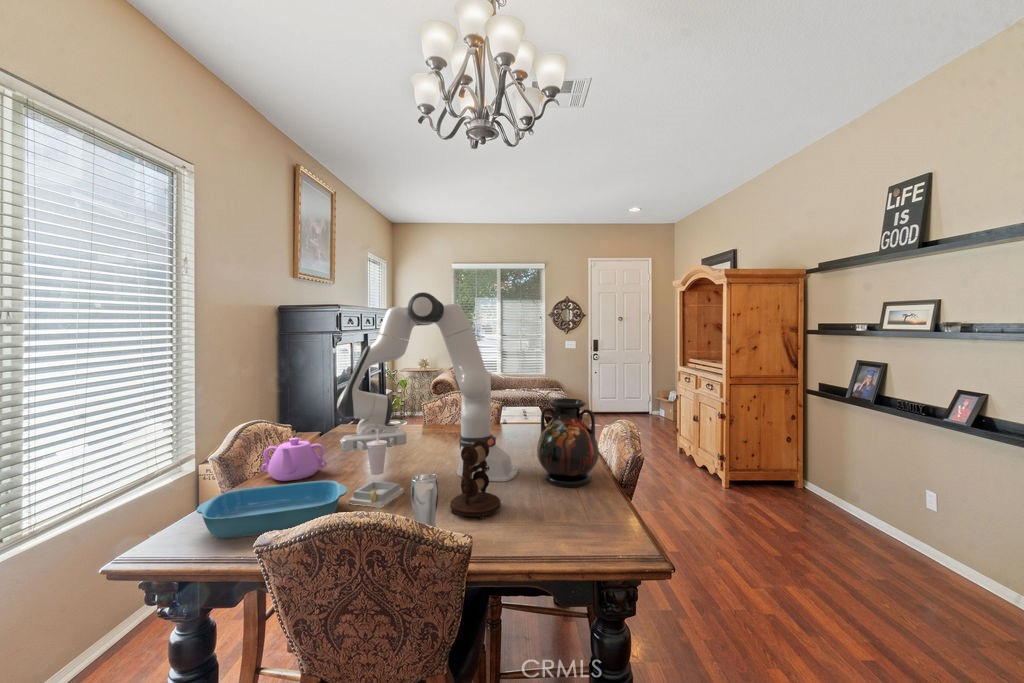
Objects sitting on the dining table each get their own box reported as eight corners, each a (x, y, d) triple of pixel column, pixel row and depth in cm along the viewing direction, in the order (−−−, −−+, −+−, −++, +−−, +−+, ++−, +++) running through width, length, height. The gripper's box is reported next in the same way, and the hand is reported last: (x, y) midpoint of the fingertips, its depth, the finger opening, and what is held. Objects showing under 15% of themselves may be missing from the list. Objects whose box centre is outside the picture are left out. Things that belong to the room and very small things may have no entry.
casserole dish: (346, 497, 139) (346, 475, 139) (348, 526, 119) (348, 500, 118) (209, 516, 125) (209, 491, 125) (185, 552, 105) (184, 523, 105)
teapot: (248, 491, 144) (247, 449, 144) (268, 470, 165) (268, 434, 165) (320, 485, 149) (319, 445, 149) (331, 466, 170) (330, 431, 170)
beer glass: (432, 542, 109) (432, 482, 108) (406, 540, 110) (406, 481, 110) (442, 530, 116) (442, 473, 115) (418, 527, 117) (417, 472, 117)
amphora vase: (530, 487, 147) (529, 404, 146) (544, 468, 167) (544, 395, 166) (594, 494, 140) (595, 407, 140) (601, 473, 161) (601, 397, 160)
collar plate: (403, 492, 142) (403, 479, 142) (380, 508, 130) (380, 493, 129) (374, 489, 145) (373, 476, 145) (349, 504, 133) (348, 490, 133)
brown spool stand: (467, 497, 138) (466, 434, 137) (509, 505, 132) (508, 439, 131) (440, 515, 125) (439, 446, 124) (485, 525, 118) (485, 452, 118)
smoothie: (376, 477, 133) (375, 432, 132) (362, 474, 136) (361, 429, 136) (392, 471, 138) (391, 428, 138) (378, 468, 142) (377, 425, 141)
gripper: (339, 430, 145) (341, 439, 132) (402, 424, 153) (409, 432, 140) (339, 448, 145) (341, 460, 132) (402, 442, 153) (409, 452, 140)
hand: (377, 446), depth 136 cm, fingers closed on smoothie, 6 cm apart
